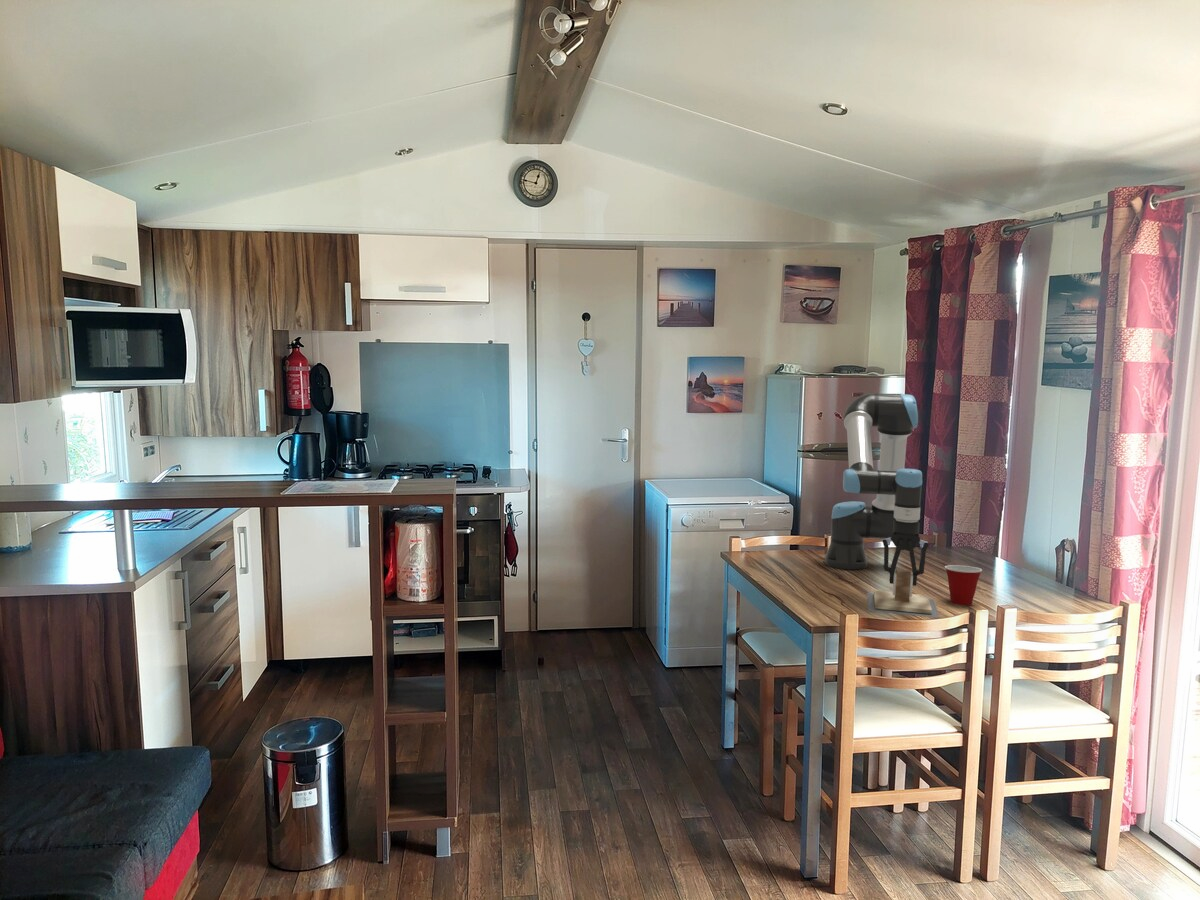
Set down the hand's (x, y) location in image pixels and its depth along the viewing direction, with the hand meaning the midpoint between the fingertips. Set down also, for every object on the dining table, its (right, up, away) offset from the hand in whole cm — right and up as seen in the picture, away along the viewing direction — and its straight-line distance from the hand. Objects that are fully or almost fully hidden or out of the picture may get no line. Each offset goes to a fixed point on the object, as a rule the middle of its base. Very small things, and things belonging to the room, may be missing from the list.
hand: (902, 594), depth 254 cm
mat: (0, -4, 0) cm, 4 cm away
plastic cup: (+20, -4, +5) cm, 21 cm away
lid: (0, -3, 0) cm, 3 cm away
